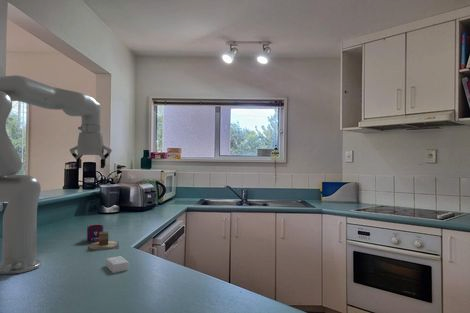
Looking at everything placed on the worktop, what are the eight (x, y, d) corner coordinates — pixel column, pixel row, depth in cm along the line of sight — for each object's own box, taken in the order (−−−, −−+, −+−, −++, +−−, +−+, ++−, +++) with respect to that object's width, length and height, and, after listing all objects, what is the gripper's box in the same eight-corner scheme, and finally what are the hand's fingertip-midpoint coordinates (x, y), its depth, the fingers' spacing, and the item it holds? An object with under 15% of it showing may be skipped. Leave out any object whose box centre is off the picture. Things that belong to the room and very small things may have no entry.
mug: (87, 243, 138) (87, 228, 138) (86, 238, 147) (86, 224, 147) (103, 242, 141) (103, 226, 141) (101, 237, 150) (102, 223, 150)
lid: (117, 248, 129) (117, 234, 129) (88, 251, 125) (88, 236, 125) (117, 242, 140) (117, 229, 140) (90, 244, 136) (90, 230, 136)
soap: (129, 270, 105) (129, 261, 105) (112, 274, 102) (112, 264, 102) (121, 263, 112) (121, 255, 113) (105, 266, 109) (105, 257, 109)
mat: (119, 249, 129) (119, 248, 129) (87, 252, 125) (87, 251, 125) (118, 242, 140) (118, 241, 140) (89, 244, 136) (89, 244, 136)
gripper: (66, 128, 133) (66, 168, 133) (109, 129, 135) (109, 168, 135) (73, 130, 140) (73, 168, 140) (113, 130, 143) (113, 167, 143)
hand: (91, 168), depth 138 cm, fingers open, 9 cm apart
